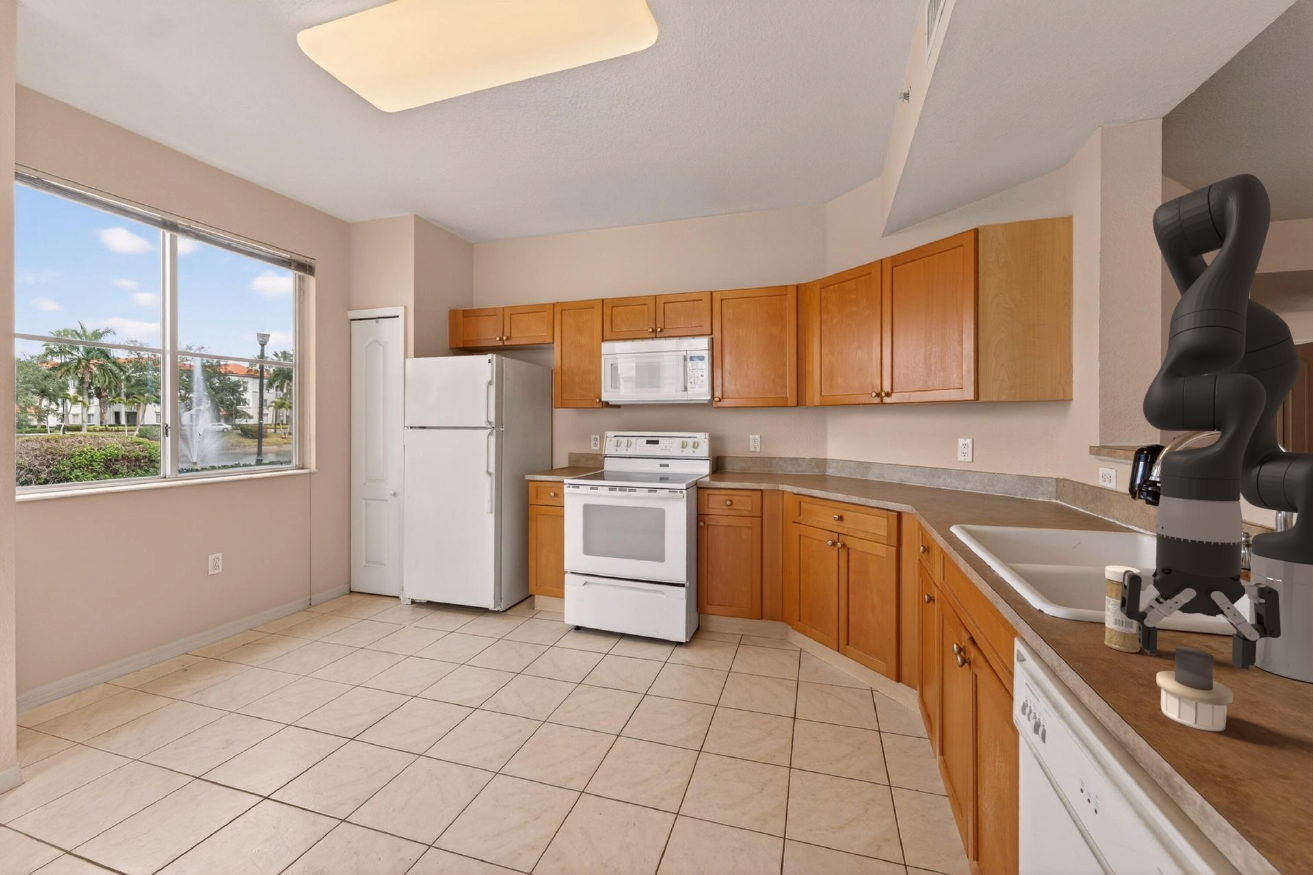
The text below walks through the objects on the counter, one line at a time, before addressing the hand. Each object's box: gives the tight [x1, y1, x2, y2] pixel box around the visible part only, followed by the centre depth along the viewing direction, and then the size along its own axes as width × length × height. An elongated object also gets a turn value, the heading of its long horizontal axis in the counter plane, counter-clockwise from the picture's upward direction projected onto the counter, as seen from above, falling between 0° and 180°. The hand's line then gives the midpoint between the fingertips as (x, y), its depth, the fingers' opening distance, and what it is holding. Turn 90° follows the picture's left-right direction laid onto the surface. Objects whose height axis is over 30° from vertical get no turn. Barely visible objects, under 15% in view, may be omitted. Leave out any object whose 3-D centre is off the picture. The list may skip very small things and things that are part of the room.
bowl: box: [1160, 688, 1228, 732], centre depth 67 cm, size 6×6×4 cm
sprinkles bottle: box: [1103, 565, 1142, 653], centre depth 88 cm, size 5×5×13 cm
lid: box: [1155, 646, 1234, 706], centre depth 67 cm, size 7×7×5 cm
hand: (1194, 659), depth 67 cm, fingers open, 8 cm apart
